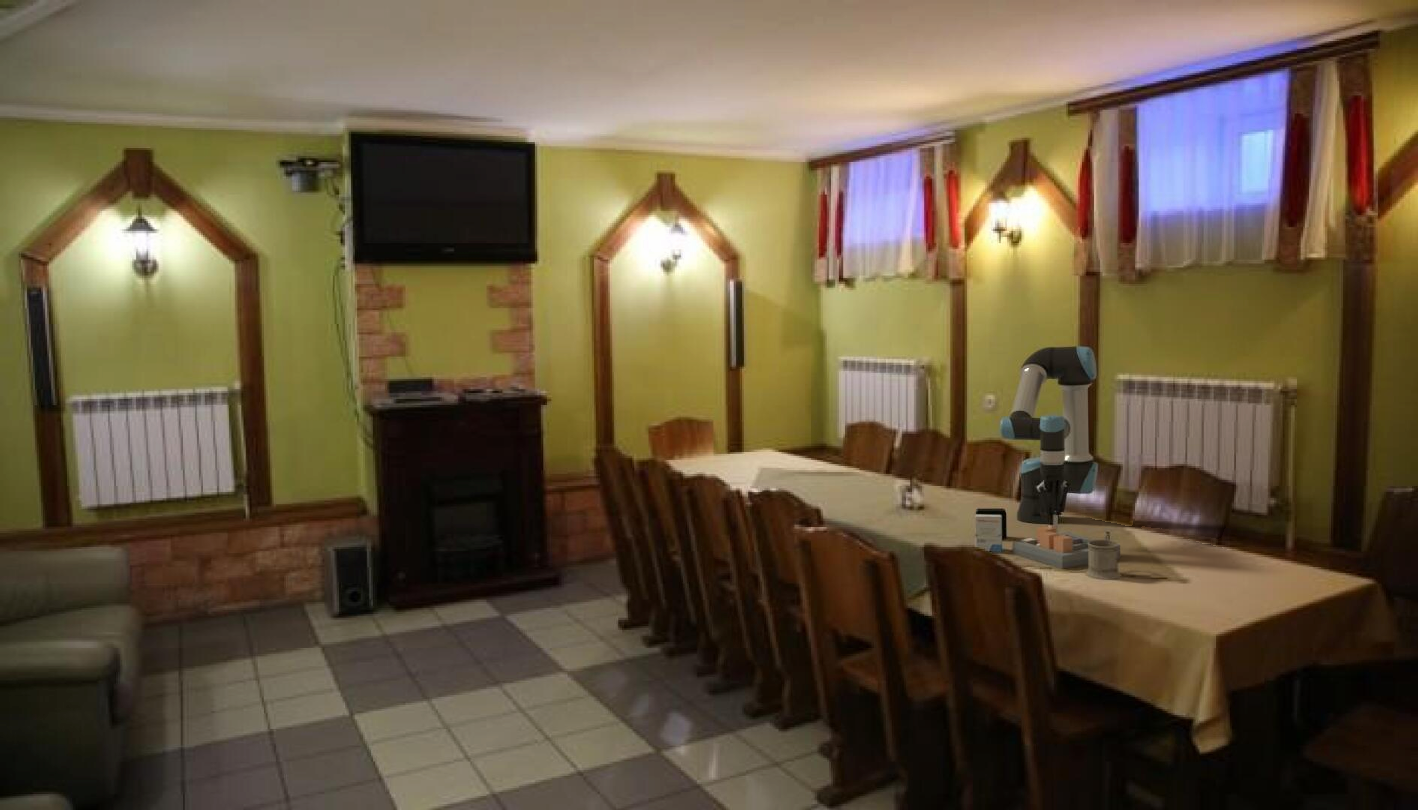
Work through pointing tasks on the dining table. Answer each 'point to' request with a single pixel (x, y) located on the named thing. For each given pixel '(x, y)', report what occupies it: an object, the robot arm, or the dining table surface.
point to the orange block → (1063, 544)
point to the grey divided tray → (1056, 552)
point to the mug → (1103, 559)
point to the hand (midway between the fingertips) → (1053, 534)
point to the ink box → (988, 532)
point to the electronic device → (995, 512)
